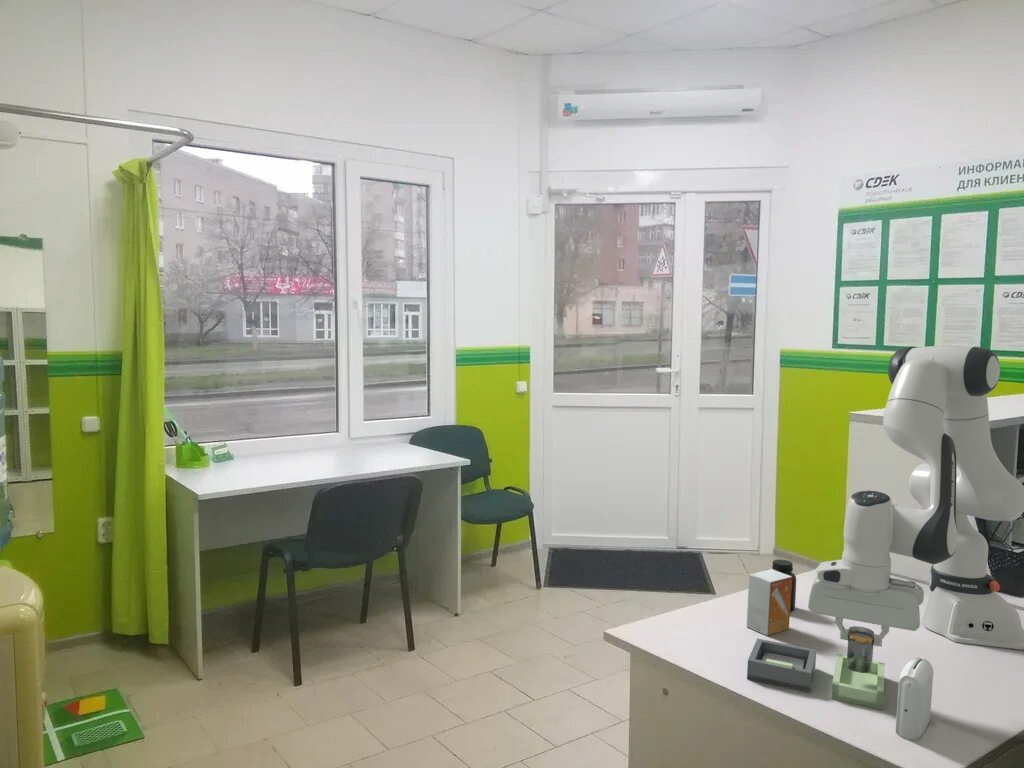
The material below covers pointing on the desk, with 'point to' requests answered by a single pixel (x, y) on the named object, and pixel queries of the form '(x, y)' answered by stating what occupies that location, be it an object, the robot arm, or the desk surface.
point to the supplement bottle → (787, 569)
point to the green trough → (858, 684)
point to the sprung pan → (784, 659)
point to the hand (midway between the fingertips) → (860, 641)
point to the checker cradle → (781, 665)
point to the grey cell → (860, 649)
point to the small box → (769, 601)
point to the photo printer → (914, 699)
